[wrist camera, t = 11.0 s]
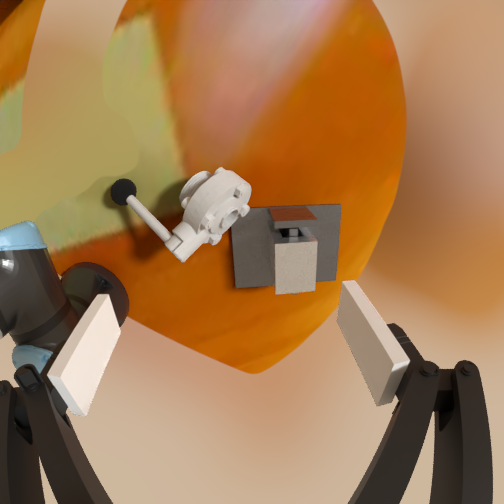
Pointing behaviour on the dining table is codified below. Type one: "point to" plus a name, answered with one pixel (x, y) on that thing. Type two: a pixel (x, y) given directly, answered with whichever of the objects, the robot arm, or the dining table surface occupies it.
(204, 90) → the dining table surface
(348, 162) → the dining table surface
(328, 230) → the dark grey angled piece
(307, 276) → the hollow grey box
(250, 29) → the dining table surface
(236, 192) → the valve
